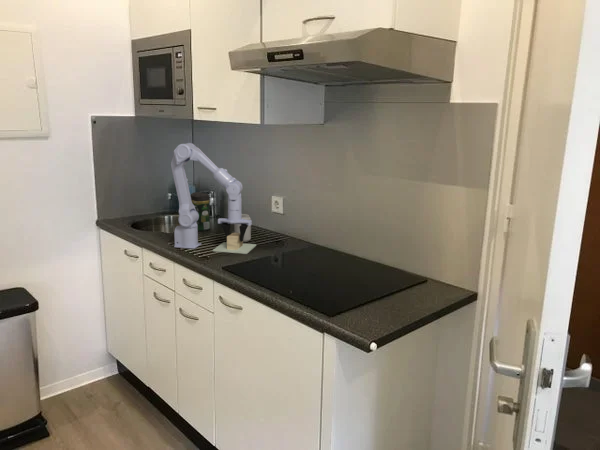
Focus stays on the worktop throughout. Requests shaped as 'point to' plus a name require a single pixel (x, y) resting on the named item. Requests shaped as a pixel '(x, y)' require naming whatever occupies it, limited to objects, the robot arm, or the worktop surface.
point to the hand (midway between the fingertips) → (234, 240)
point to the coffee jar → (201, 209)
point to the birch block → (234, 241)
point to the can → (248, 231)
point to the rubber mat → (243, 249)
